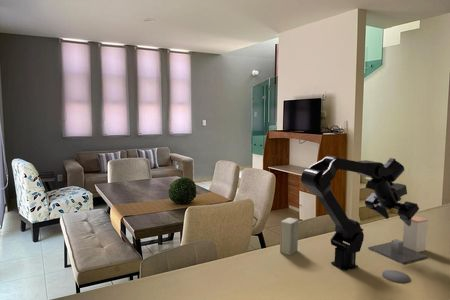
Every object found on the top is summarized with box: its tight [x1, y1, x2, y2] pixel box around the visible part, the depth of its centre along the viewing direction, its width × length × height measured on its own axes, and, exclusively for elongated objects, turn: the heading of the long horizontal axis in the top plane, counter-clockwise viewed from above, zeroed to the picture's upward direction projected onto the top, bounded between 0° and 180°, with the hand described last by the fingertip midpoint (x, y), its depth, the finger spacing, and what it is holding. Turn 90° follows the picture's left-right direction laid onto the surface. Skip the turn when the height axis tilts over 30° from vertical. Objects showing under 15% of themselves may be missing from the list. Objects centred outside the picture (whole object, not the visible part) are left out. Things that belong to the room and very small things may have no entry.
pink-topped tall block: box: [402, 215, 429, 253], centre depth 134 cm, size 6×6×12 cm
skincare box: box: [279, 217, 299, 256], centre depth 130 cm, size 6×4×12 cm
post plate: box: [367, 239, 428, 265], centre depth 130 cm, size 13×15×5 cm
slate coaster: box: [381, 269, 411, 284], centre depth 111 cm, size 8×8×1 cm
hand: (398, 221), depth 129 cm, fingers open, 9 cm apart
